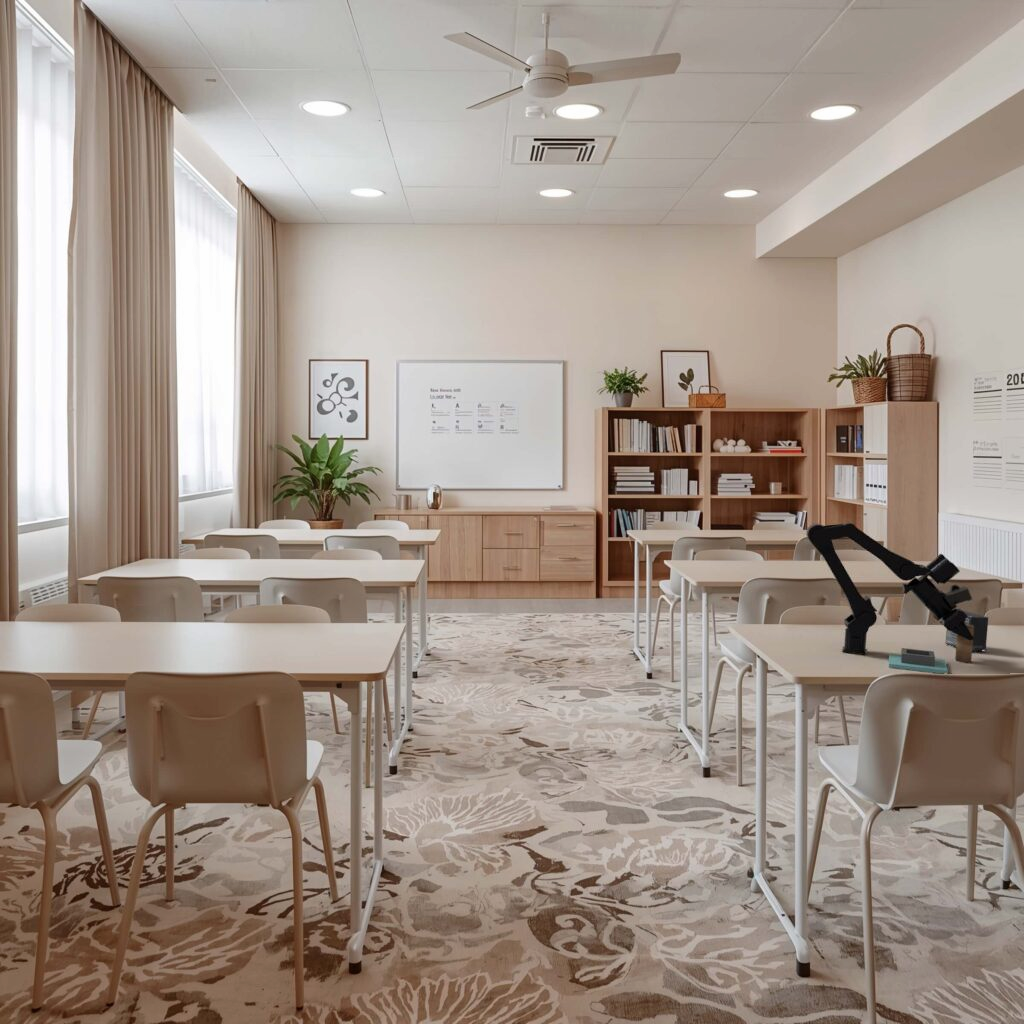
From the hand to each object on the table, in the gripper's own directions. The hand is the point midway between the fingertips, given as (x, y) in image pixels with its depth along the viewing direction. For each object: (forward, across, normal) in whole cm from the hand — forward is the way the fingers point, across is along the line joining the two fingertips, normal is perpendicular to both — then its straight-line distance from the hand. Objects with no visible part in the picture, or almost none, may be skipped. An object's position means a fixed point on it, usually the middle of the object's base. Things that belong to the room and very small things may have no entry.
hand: (970, 637), depth 247 cm
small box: (+7, +20, +2) cm, 21 cm away
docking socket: (-6, -11, +15) cm, 20 cm away
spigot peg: (+4, 0, +6) cm, 7 cm away
